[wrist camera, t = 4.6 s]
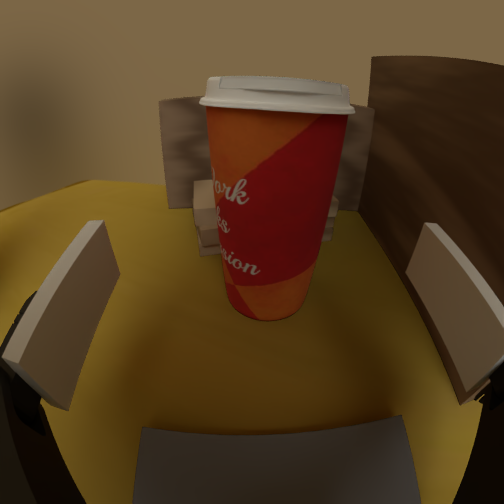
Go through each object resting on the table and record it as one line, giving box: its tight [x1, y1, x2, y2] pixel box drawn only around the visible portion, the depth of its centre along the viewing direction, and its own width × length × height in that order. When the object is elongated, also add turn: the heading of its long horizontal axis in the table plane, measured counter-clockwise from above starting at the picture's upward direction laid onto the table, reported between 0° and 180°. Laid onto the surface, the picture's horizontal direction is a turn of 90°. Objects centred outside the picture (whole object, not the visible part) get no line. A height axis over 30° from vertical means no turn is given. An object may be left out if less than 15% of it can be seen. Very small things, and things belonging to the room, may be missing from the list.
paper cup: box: [199, 76, 355, 321], centre depth 16 cm, size 8×8×14 cm
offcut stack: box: [192, 180, 339, 256], centre depth 25 cm, size 12×7×4 cm, turn 103°
